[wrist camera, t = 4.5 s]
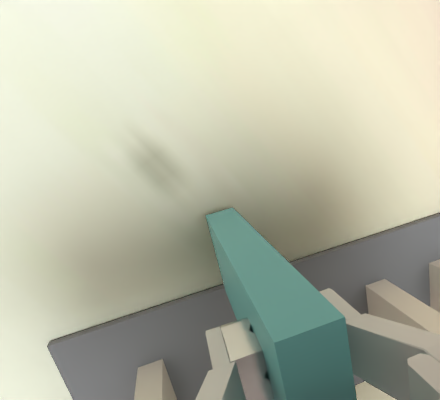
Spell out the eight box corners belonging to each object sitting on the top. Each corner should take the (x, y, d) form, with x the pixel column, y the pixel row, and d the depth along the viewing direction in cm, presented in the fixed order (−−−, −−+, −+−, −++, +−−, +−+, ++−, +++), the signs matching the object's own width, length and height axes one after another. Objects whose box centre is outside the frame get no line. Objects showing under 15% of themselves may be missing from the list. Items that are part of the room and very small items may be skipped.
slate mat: (486, 197, 20) (493, 198, 20) (483, 326, 23) (489, 329, 23) (50, 341, 16) (47, 346, 16) (115, 477, 19) (114, 485, 19)
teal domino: (232, 207, 15) (345, 317, 6) (250, 283, 16) (367, 481, 7) (205, 215, 15) (274, 342, 5) (225, 291, 16) (311, 507, 7)
